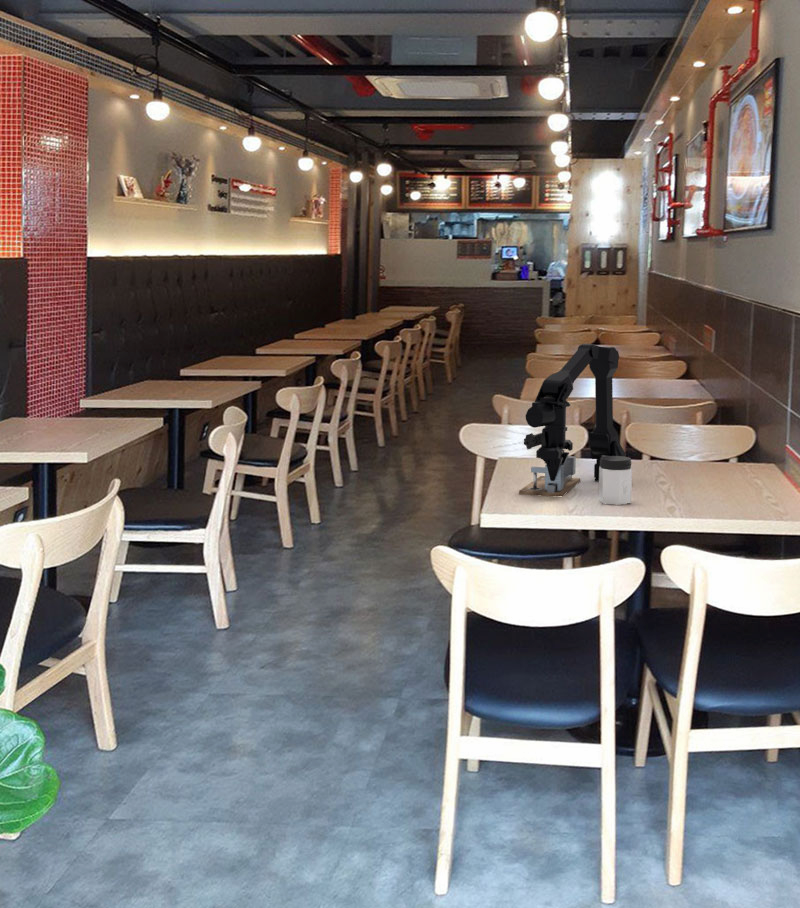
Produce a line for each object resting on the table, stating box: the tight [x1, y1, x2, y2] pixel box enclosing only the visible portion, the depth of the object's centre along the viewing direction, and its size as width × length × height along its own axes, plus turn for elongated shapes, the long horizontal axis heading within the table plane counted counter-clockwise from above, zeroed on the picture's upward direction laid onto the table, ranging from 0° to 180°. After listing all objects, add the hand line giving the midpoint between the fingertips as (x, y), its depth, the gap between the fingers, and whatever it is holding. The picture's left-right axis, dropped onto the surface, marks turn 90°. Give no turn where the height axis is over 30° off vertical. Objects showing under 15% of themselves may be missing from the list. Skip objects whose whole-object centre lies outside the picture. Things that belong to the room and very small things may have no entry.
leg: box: [530, 464, 564, 491], centre depth 325 cm, size 9×4×7 cm, turn 69°
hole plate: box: [518, 475, 581, 497], centre depth 333 cm, size 12×25×1 cm, turn 159°
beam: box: [544, 455, 577, 493], centre depth 331 cm, size 9×22×7 cm, turn 159°
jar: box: [597, 456, 633, 506], centre depth 312 cm, size 9×8×12 cm
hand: (554, 479), depth 324 cm, fingers closed on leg, 4 cm apart
